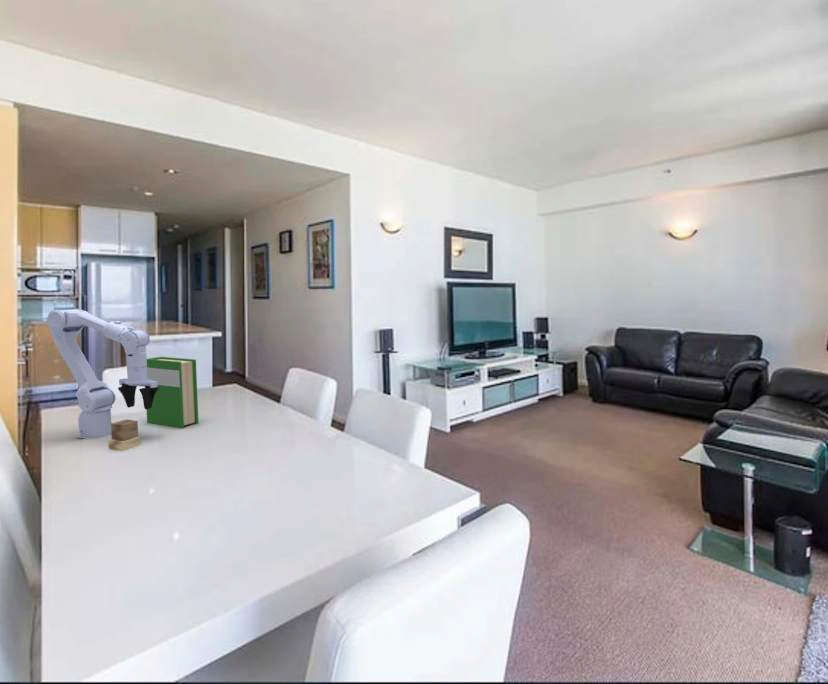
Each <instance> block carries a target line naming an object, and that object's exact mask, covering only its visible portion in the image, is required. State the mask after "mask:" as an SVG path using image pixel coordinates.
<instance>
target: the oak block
mask: <svg viewBox="0 0 828 684" xmlns="http://www.w3.org/2000/svg"><path fill="white" fill-rule="evenodd" d="M107 441H108V442H107V443H108V448H109V449H112V450H111V451H113V450H119V451H118V452H120V451H125V450H127V451H129V450H128V449H130V450H132V449H131V448H133V449H135V448H134V447H136V448H138V447H137V446H139V447H141V446H140V445H142V444H141V436H140V435H138V437H135V438H132V439H129V440H126V441H120V440H113V439H112V438H110V439H107ZM125 452H126V451H125Z"/></svg>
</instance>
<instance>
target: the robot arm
mask: <svg viewBox="0 0 828 684" xmlns="http://www.w3.org/2000/svg"><path fill="white" fill-rule="evenodd" d="M45 323H46V325H47V327H48V328H49V330H50V332H51V336H52V339H53V343H54V344H55V346H56V348H57V349H58V351H59V353H60V354H61V357H62V358H63V360H64V362H65V364H66V365H67V367H68V368H69V371H70V373H71V374H72V376H73V378H74V380H75V381H76V383H77V385H78V390H77V391H76V392H75V397H76V398H77V404H78V407H79V408H80V409H81V410H82V411H81V412H80V413H79V416H78V433H79V435H77V436H76V438H79V439H88V438H93V439H94V438H101V437H106V436H110V435H112V434H111V423H112V410H111V409H112V408H113V404H115V402H116V393H115V392H114V390H113V389H111V388H110V387H109V386H108V384H107V383H105V382H104V381H102V380H99V379H98V377H97V376H96V374H95V372H94V370H93V369H92V367H91V365H90V363H89V362H88V360H87V358H86V356H85V355H84V353H83V351H82V349H81V348H80V345H79V344H78V342H77V340H76V339H77V338H76V337H77V336H78V335H79V334H80V333H81V331H82V330H83V328H84V327H88V328H91V329H93V330H97V331H99V332H102V333H103V335H104V337H105V338H107V339H110V340H112V341H115V342H117V343H120V344H121V345H122V347H123V349H124V353H125V356H126V357H125V358H126V373H127V375H126V376H127V378H119V379H118V385H119V386H118V387H117V390H118V391H119V393H120V394H121V395H122V397H123V399H124V402H125V405H126V407H127V408H132V407H135V405H136V404H135V402H136V398H135V397H136V391H137V387H142V388H139V389H138V390H139V392H140V394H141V397H142V403H143V408H144V410H146V409H150V408H152V403H153V399H154V396H155V394H156V392H157V390H158V387H157V381H153V380H149V379H148V375H147V359H148V358H147V346H148V345H149V343H150V341H151V340H150V335H149V333H148V332H147V331H145V330H144V329H141V328H140V329H134V327H133V326H127V325H126V324H122V321H120V320H112V321H106V320H105V319H101V318H99V317H97V316H96V315H93V314H91V313H90V312H88V311H87V310H83V309H81V308H74V309H73V308H72V309H53V310H51V311H50V312H48V315H47V318H46V321H45Z"/></svg>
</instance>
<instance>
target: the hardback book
mask: <svg viewBox="0 0 828 684" xmlns="http://www.w3.org/2000/svg"><path fill="white" fill-rule="evenodd" d="M147 375H148V379H149V380H153V381H157V387H158V390H157V392H156V394H155V396H154V399H153V403H152V408H150V409H145V410H146V423H147V424H150V425H155V426H156V425H157V426H163V427H169V428H176V429H184V428H185V426H187V425H190V424H192V425H199V405H198V404H199V403H198V382H197V381H198V379H197V377H198V376H197V360H196V359H194V358H182V357H181V358H179V357H167V356H158V357H151V358H147Z"/></svg>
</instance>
